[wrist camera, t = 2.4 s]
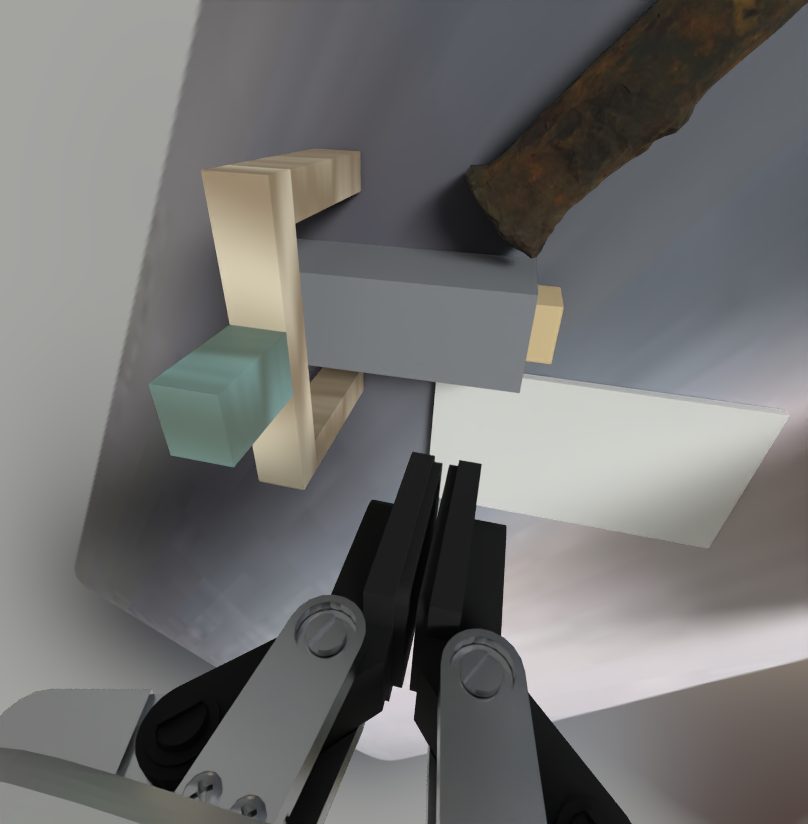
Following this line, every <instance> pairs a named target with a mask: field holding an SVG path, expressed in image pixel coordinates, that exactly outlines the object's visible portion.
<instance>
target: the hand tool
mask: <svg viewBox="0 0 808 824" xmlns="http://www.w3.org/2000/svg"><path fill="white" fill-rule="evenodd" d="M807 3H808V0H659V1H658V2H657V3H656V4H655V5H654V6H653V7H652V8H651V9H650V10H649V11H647V12H646V13H645V14H644V15H643V16H642V17H641V18H640V19H639V20H638V21H637V22H636V23H635V24H634V25H633V26H632V27H631V28H630V29H629V30H628V31H627V32H626V33H625V34H624V35H622V36H621V37H620V38H619V39H618V41H617V42H616V43H615V44H614V45H612V46H611V47H610V48H609V49H608V50H606V51H605V52H604V53H603V54H601V55H600V56H599V57H598V58H597V59H596V60H595V61H594V62H593V63H592V64H591V65H590V66H589V67H588V68H587V69H586V70H585V71H584V72H583V73H582V74H581V75H580V77H579V78H578V79H577V80H576V81H575V83H573V84H572V85H571V86H570V87H569V88H567V89H566V90H565V91H564V92H563V94H562V95H561V96H560V97H559V98H558V99H557V100H556V101H555V102H554V103H553V104H552V105H551V106H550V107H549V108H548V109H547V110H546V111H544V112H543V113H542V114H540V115H539V116H538V117H537V118H536V119H535V120H534V121H533V122H532V123H531V124H530V126H529V127H528V128H527V129H526V130H525V131H524V133H523V134H522V135H521V136H520V137H519V138H518V139H517V140H516V141H515V142H514V143H513V145H512V146H511V147H510V148H508V149H507V150H506V151H505V152H504V153H503V154H502V155H501V156H500V157H499V158H498V159H496V160H494V161H492V162H491V163H489V164H488V165H471V166H470V168H469V169H468V171H467V173H466V180H467V183H468V186H469V189H470V191H471V194H472V196H473V197H474V198H475V200H476V201H477V203H478V204H479V205H480V207H481V208H482V210H483V211H484V213H485V214H486V216H487V217H488V219H489V220H490V222H491V223H492V224H493V226H494V227H495V229H496V230H497V232H498V234H499V235H500V237H501V238H502V239H504V240H505V241H508V242H509V243H511V244H512V245H513V246H514V247H515V248H516V249H517V250H520V251H522V252H523V253H525V254H526V255H527V256H529V257H530V258H531V259H532V258H535V257H537V256H538V254H539V253H540V252H541V250H542V248H543V246H544V244H545V242H546V240H547V238H548V237H549V236H550V234H551V233H552V232H553V230H554V227H555V226H556V225H557V224H558V223H559V222H560V221H561V219H562V218H563V216H564V215H565V213H566V212H567V211H568V210H569V209H570V208H571V207H572V206H573V205H575V204H576V203H578V202H579V201H580V200H582V199H583V198H584V197H585V196H586V195H587V194H588V193H589V192H591V191H592V190H593V189H594V188H596V187H597V186H598V185H599V184H600V183H601V181H603V180H604V179H605V178H606V177H608V176H609V175H610V174H612V173H613V172H615V171H616V170H618V169H619V168H620V167H622V166H623V165H624V164H625V163H627V162H628V161H630V160H631V159H633V158H635V157H637V156H639V155H640V154H642V153H643V152H645V151H646V150H648V148H649V147H650V146H651V144H652V143H653V142H654V141H656V140H658V139H660V138H662V137H664V136H667V135H670V134H673V133H676V132H677V131H678V130H679V129H680V128H681V127H682V126H683V125H684V124H685V123H686V122H687V121H688V120H689V118H690V116H691V114H692V112H693V110H694V107H695V105H696V104H697V103H698V101H699V100H700V99H701V98H702V97H703V95H704V94H705V93H706V92H707V90H709V89H710V88H711V87H712V86H713V85H714V84H715V83H716V82H717V81H718V80H720V79H721V78H722V77H723V76H724V75H725V74H727V73H728V72H729V71H730V70H731V69H732V68H733V67H734V66H736V65H737V64H738V63H739V62H740V61H741V60H742V59H744V58H745V57H746V56H747V55H748V54H750V53H751V52H752V51H753V50H755V49H756V48H757V47H758V46H759V45H761V44H762V43H763V42H764V41H765V40H767V39H768V38H769V37H770V36H771V35H772V34H774V33H775V32H776V31H777V30H778V29H779V28H781V27H782V26H783V25H784V24H785V23H786V22H787V21H788V20H789V19H790V18H791V17H792V16H793V15H794V14H795V13H797V12H798V11H799V10H800V9H801V8H802V7H803V6H804V5H805V4H807Z"/></svg>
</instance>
